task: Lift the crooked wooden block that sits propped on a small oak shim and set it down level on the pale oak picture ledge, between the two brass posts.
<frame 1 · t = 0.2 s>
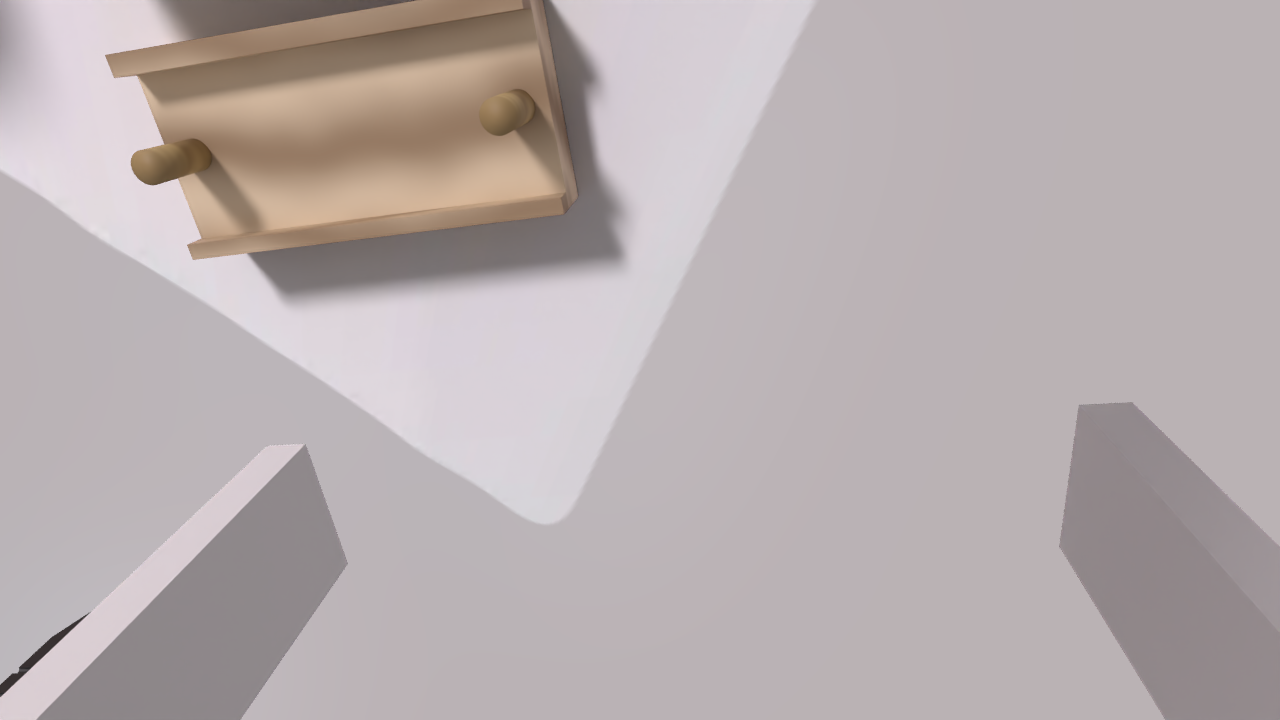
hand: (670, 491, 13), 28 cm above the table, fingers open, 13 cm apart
ledge: (373, 124, 39), on the table
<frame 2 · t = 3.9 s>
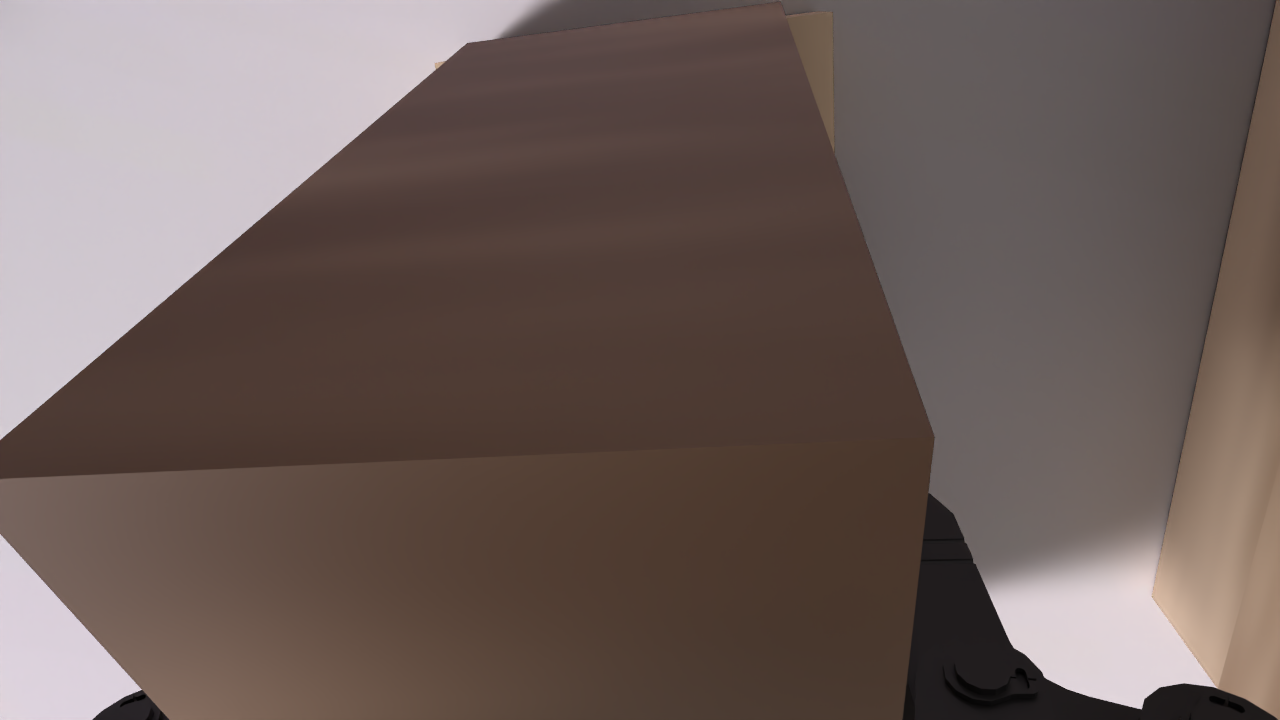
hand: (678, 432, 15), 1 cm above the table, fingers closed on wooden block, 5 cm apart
shim: (648, 109, 13), on the table
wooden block: (674, 408, 14), point 1 cm above the table, tilted 10°, touching gripper, shim
when the fingers open (5 cm above the table, at t = 7.5 s): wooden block drops 3 cm, resting on ledge.
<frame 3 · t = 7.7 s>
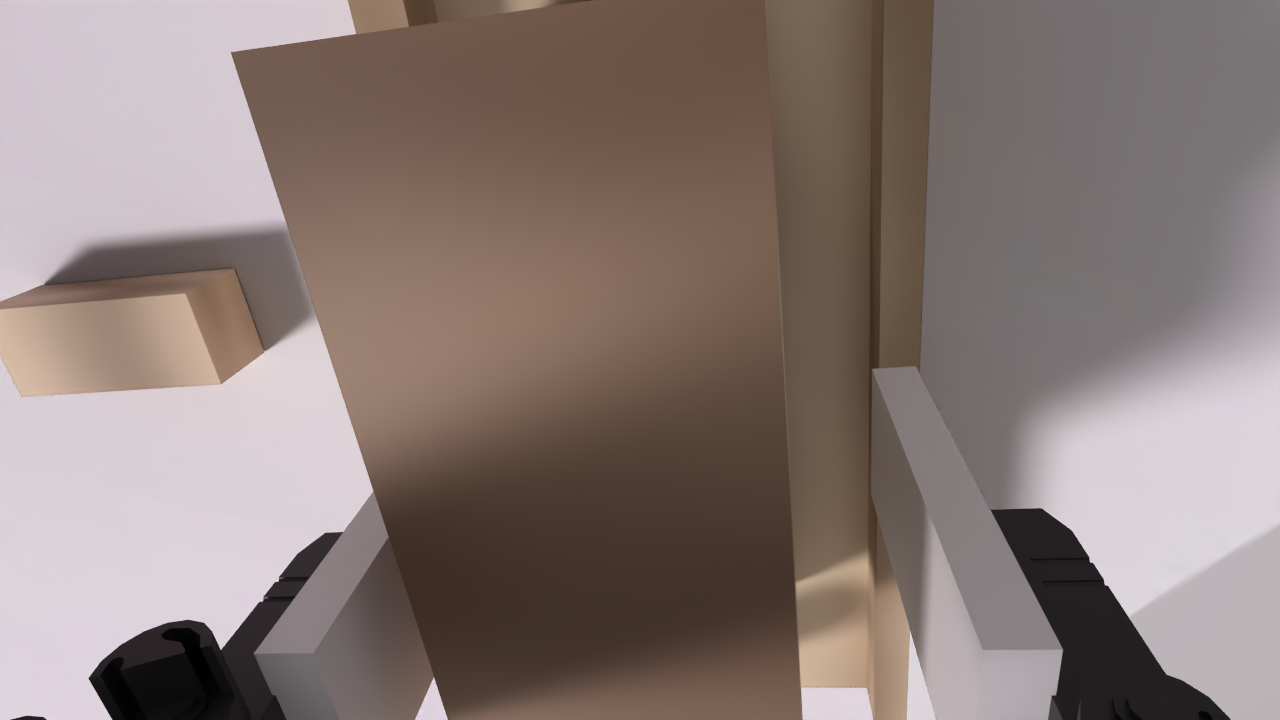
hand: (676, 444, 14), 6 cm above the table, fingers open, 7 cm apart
shim: (153, 319, 21), on the table
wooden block: (672, 348, 17), point 3 cm above the table, touching ledge
ledge: (687, 331, 19), on the table
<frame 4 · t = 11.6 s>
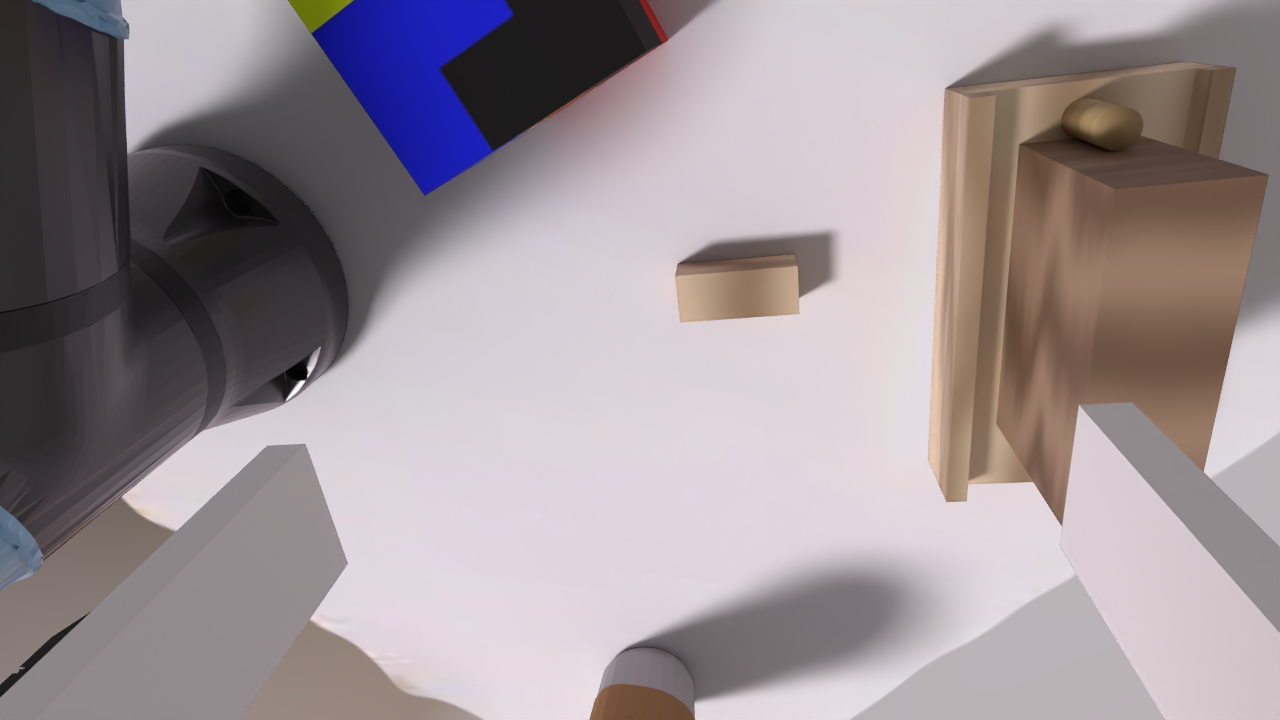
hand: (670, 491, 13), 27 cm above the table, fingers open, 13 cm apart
shim: (737, 281, 39), on the table
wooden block: (1057, 291, 35), point 2 cm above the table, touching ledge
puzzle toy: (522, 0, 35), on the table
coffee cup: (649, 675, 52), on the table
ledge: (1039, 286, 37), on the table
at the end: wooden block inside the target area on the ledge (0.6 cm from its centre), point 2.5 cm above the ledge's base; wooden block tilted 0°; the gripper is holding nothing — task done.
